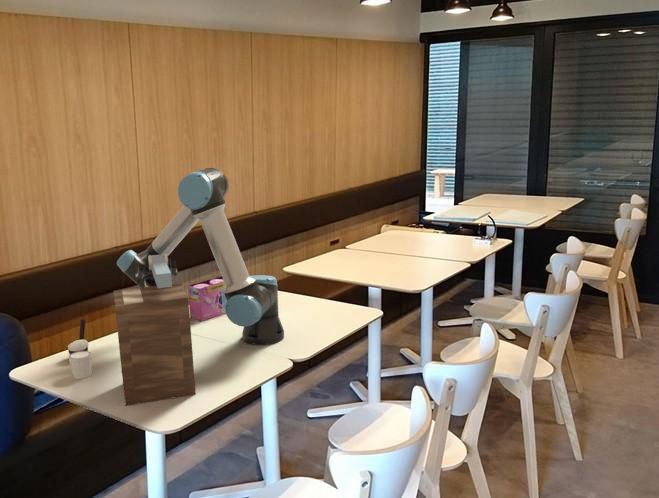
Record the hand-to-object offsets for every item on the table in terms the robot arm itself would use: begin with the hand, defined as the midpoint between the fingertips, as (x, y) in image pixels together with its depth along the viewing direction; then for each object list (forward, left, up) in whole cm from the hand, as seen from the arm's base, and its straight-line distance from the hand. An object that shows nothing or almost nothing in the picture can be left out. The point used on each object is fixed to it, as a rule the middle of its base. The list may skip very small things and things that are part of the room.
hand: (158, 258), depth 199 cm
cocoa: (+27, -27, -39) cm, 54 cm away
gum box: (-26, -57, -39) cm, 73 cm away
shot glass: (+26, -11, -39) cm, 48 cm away
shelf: (+4, +9, -38) cm, 39 cm away
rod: (0, +4, -5) cm, 6 cm away
